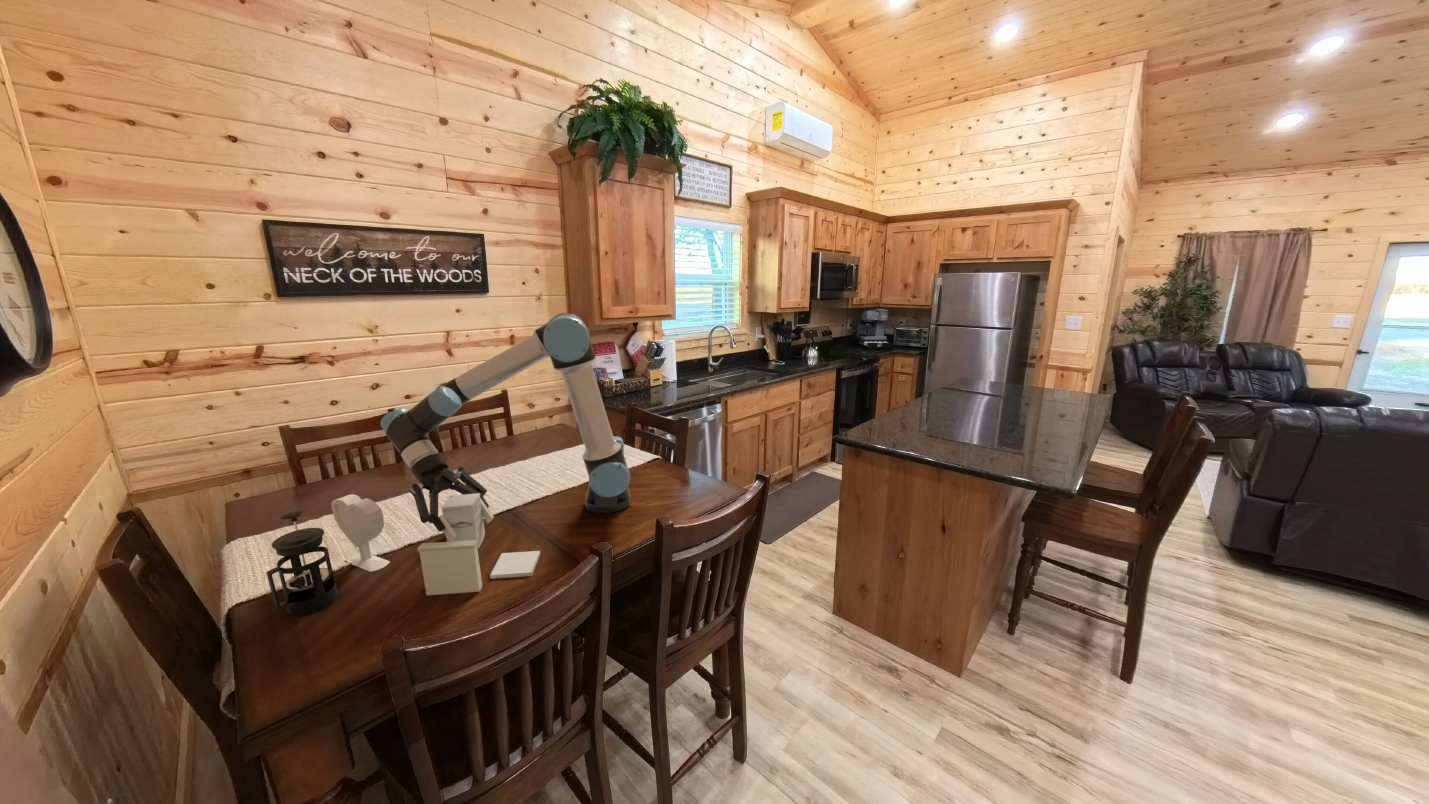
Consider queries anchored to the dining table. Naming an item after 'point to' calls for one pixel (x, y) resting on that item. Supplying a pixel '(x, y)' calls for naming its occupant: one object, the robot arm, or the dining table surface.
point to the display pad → (515, 564)
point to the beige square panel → (450, 567)
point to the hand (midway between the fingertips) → (473, 529)
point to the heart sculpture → (360, 528)
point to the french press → (311, 578)
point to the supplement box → (465, 517)
